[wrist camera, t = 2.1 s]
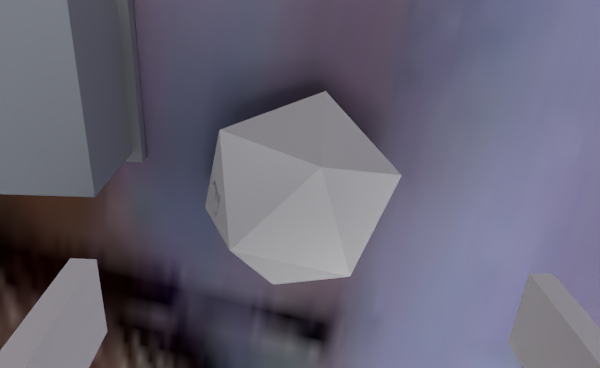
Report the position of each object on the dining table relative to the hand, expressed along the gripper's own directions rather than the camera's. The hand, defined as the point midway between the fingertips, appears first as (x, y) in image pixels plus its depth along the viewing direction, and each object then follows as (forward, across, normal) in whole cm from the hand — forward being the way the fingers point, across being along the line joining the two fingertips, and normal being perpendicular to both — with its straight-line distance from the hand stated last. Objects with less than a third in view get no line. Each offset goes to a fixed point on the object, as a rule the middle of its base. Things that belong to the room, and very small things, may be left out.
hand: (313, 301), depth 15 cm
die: (+12, 0, 0) cm, 12 cm away
